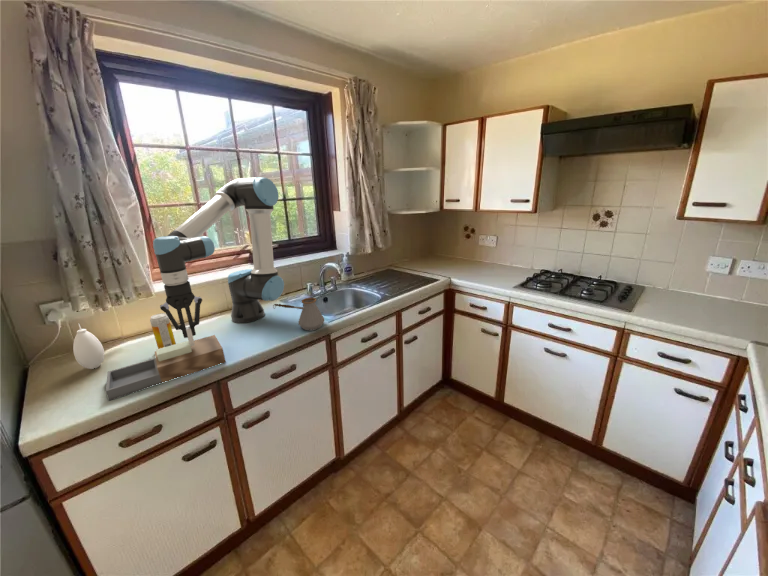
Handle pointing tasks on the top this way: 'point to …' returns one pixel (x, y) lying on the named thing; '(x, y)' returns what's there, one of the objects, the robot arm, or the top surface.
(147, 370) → the box
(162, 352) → the front tile
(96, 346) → the air blower bulb
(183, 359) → the walnut board
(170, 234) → the robot arm
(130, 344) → the top surface
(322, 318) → the coffee pot
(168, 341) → the beer can
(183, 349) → the rear tile
